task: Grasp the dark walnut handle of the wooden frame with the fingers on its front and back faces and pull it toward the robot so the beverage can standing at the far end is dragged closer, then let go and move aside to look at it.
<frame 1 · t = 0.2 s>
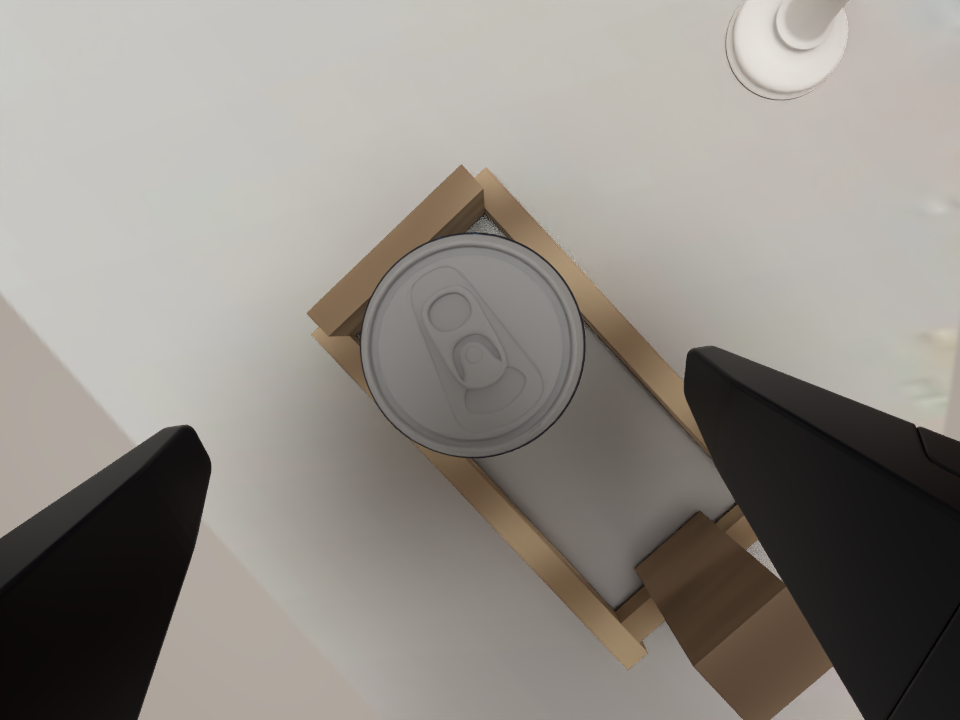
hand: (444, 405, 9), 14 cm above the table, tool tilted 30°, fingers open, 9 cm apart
chess piece: (779, 44, 23), on the table
wooden frame: (569, 438, 20), point 4 cm above the table, slide at 0.0 cm
beverage can: (480, 339, 24), resting in wooden frame
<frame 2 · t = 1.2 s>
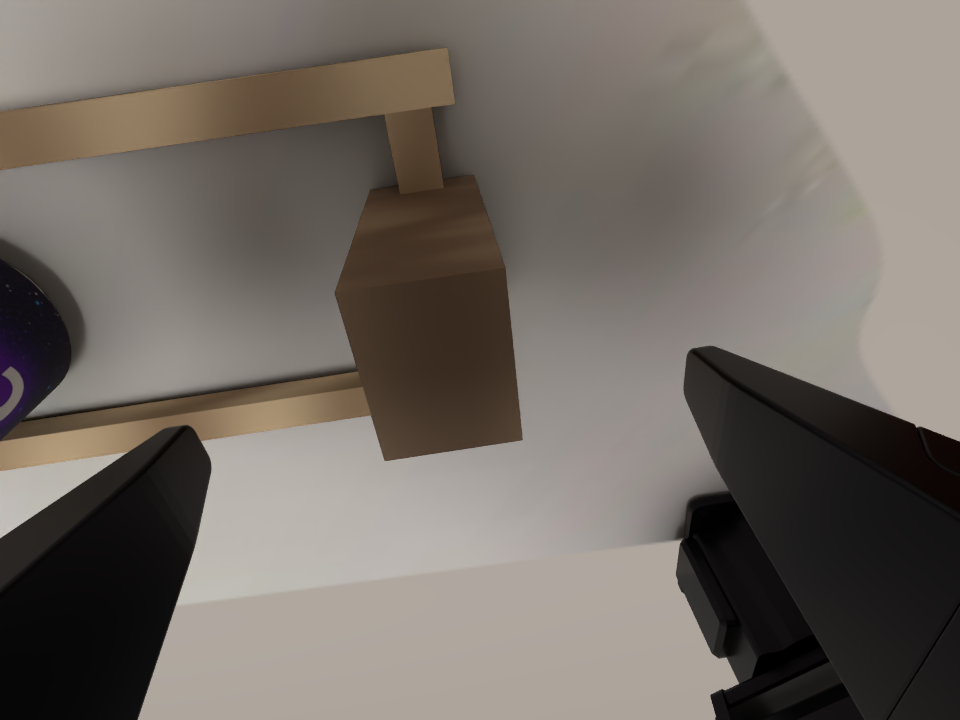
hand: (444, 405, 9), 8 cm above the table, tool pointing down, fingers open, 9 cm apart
wooden frame: (84, 349, 13), point 4 cm above the table, slide at 0.0 cm
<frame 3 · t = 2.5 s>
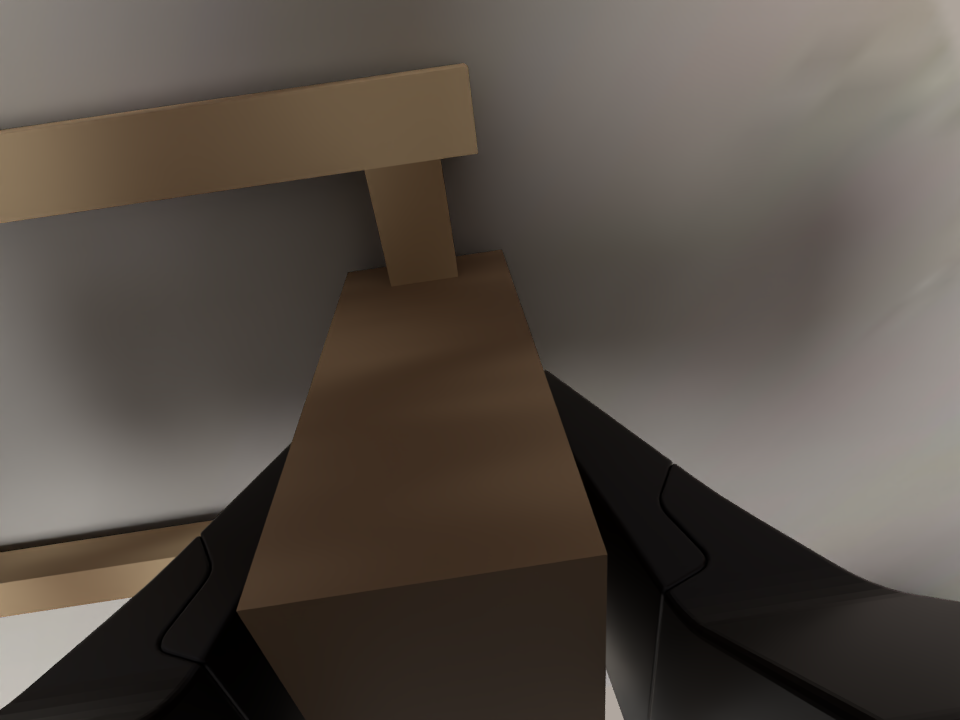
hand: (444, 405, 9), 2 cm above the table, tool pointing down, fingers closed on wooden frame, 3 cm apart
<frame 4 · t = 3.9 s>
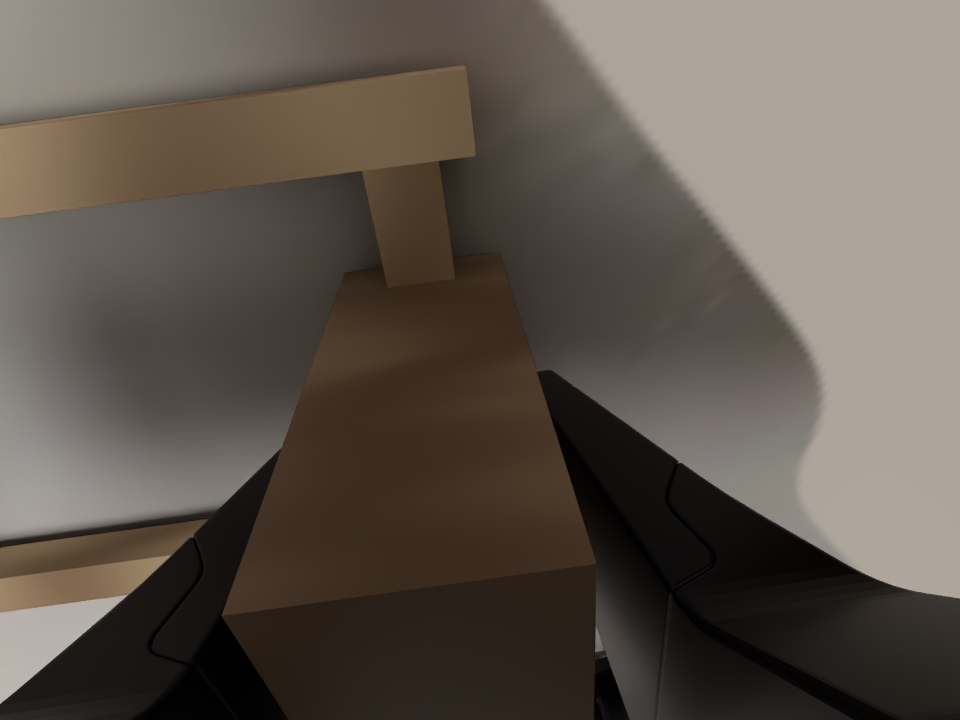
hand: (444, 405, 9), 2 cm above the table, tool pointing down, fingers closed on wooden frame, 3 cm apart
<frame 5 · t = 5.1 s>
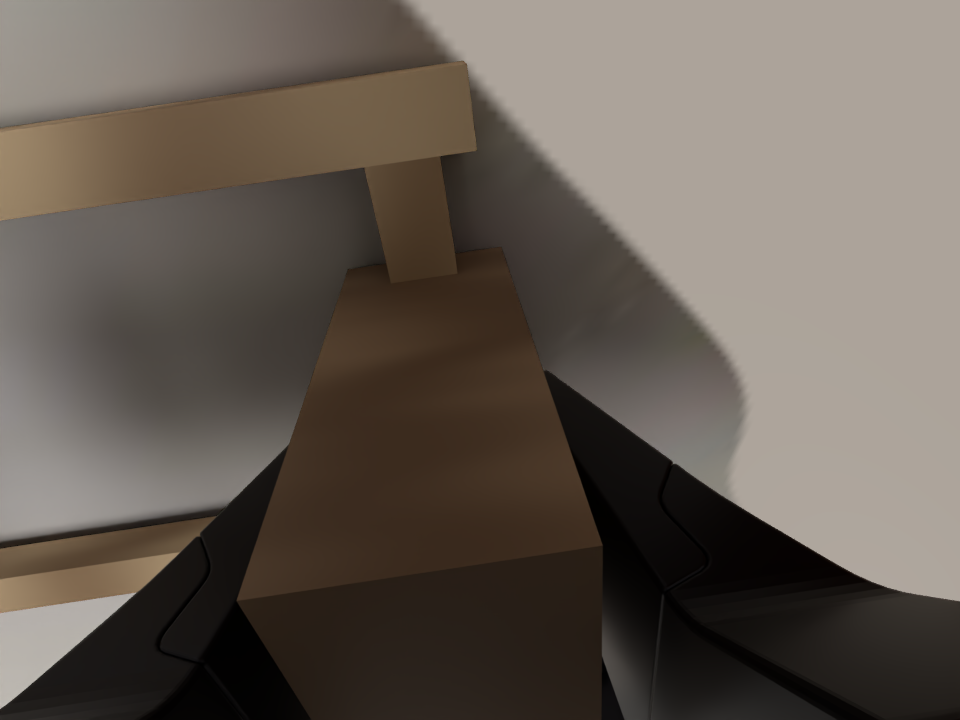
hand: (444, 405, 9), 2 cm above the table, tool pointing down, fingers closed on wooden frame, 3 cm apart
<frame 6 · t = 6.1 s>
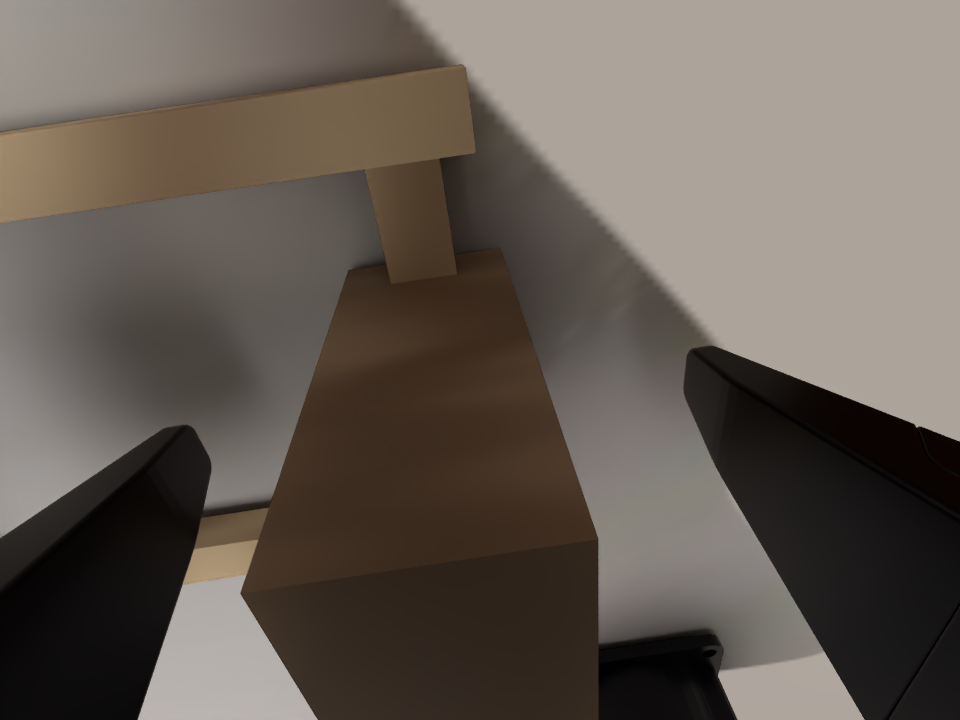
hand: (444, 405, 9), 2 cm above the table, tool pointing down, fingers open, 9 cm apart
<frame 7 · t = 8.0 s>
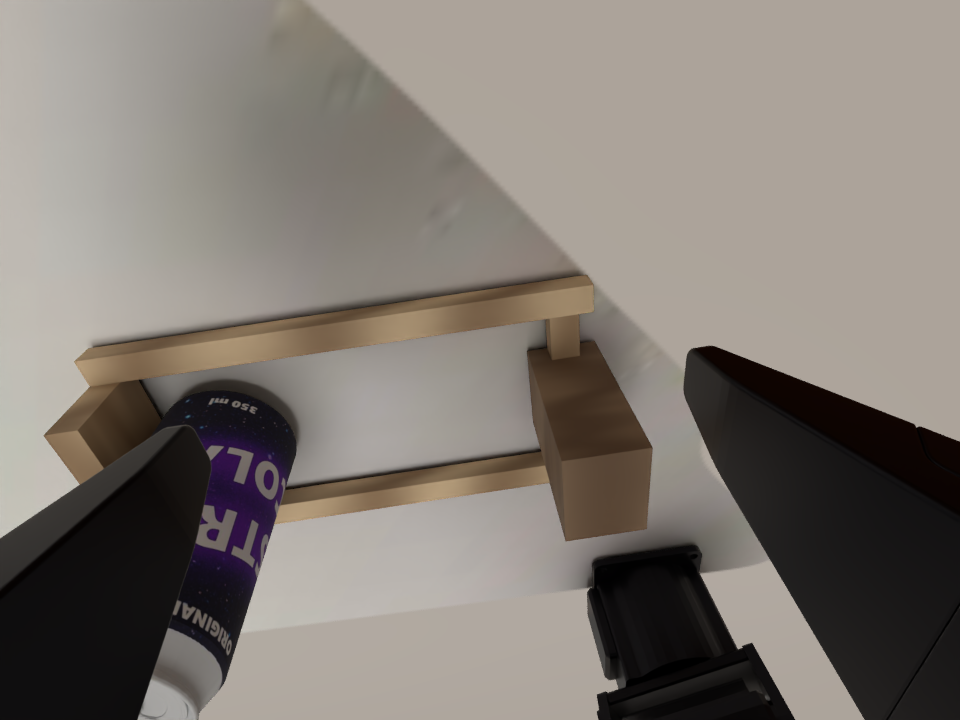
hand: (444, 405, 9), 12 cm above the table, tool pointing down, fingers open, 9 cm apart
wooden frame: (363, 464, 21), point 4 cm above the table, slide at 8.0 cm
beverage can: (238, 426, 24), resting in wooden frame
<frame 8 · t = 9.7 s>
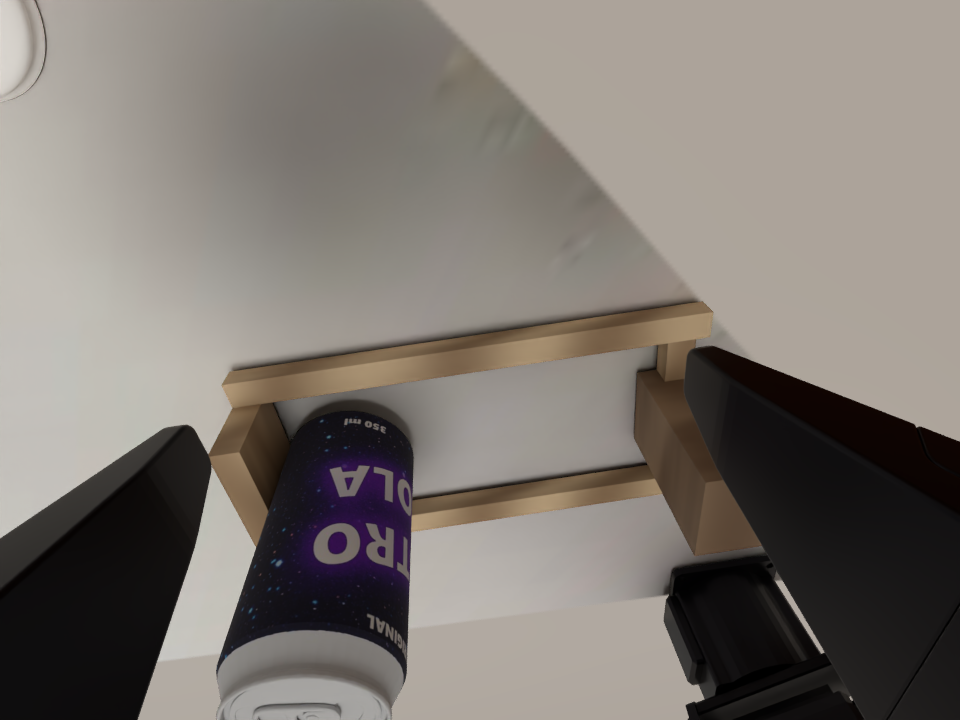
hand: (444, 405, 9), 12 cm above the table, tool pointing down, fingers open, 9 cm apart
wooden frame: (492, 482, 22), point 4 cm above the table, slide at 8.0 cm
beverage can: (355, 443, 25), resting in wooden frame
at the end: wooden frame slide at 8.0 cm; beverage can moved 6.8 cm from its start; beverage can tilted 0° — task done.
